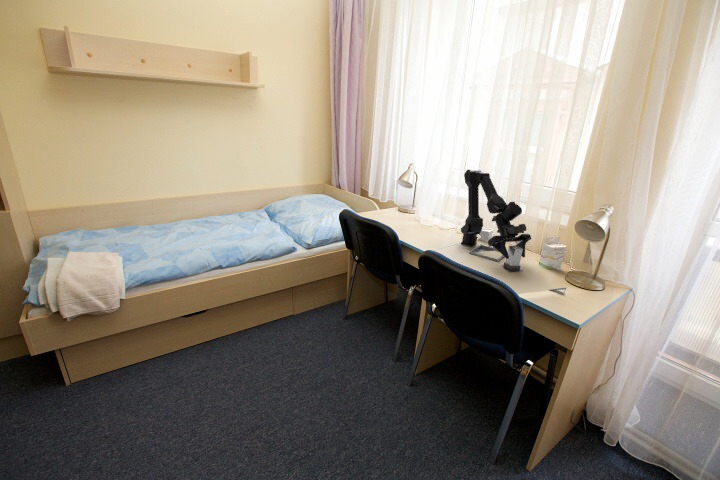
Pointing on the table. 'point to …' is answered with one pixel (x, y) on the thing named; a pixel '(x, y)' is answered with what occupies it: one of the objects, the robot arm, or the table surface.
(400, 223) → the table surface
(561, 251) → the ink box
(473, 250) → the tray
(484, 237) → the beige cube
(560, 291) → the external hard drive
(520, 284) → the table surface
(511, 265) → the strut
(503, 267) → the stud plate
